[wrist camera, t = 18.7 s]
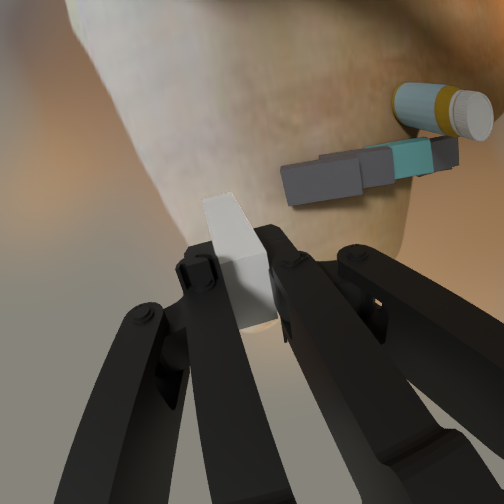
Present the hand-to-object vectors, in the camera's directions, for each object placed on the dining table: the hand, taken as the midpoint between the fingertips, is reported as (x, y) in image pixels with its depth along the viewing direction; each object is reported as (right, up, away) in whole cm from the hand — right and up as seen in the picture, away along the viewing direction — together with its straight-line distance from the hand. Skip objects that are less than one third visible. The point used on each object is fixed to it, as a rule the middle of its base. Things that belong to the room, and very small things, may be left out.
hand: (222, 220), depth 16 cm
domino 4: (+26, +12, +26) cm, 39 cm away
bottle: (+25, +21, +24) cm, 40 cm away
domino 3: (+18, +11, +26) cm, 33 cm away
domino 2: (+11, +9, +25) cm, 29 cm away
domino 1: (+6, +7, +25) cm, 27 cm away
